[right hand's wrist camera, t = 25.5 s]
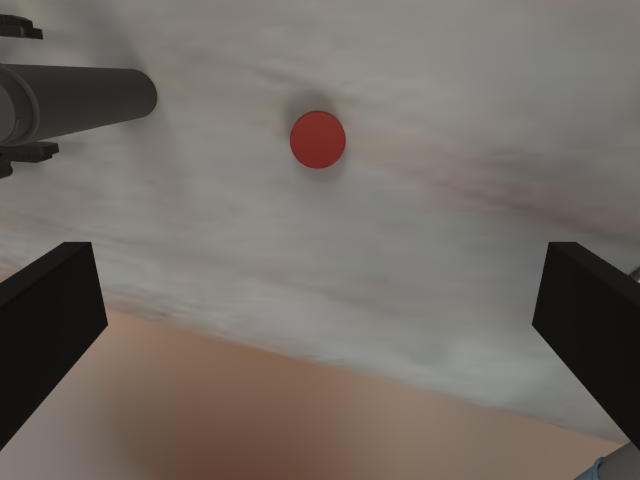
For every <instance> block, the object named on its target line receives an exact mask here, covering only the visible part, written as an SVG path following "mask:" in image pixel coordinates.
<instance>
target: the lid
mask: <svg viewBox="0 0 640 480" xmlns="http://www.w3.org/2000/svg"><path fill="white" fill-rule="evenodd" d="M290 145H291V149H292V152H293V154H294V155H295V157H296V158H297V159H298V160H299V161H300V162H301V163H302V164H304V165H306V166H308V167H311V168H325V167H328V166H330V165H332V164H334V163H335V162H336V161H337V160H338V159H339V158H340V156H341V155H342V153H343V151H344V148H345V133H344V130H343V128H342V125H341V124H340V122H339V121H338V120H337V119H336V118H335V117H334V116H333V115H331V114H329V113H327V112H324V111H312V112H309V113H306V114H304V115H303V116H302V117H300V118H299V119H298V121H297V122H296V123H295V125H294V127H293V129H292V132H291V136H290Z"/></svg>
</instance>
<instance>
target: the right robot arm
mask: <svg viewBox="0 0 640 480" xmlns="http://www.w3.org/2000/svg"><path fill="white" fill-rule="evenodd" d="M107 326H108V322H107V317H106V312H105V307H104V302H103V298H102V293H101V288H100V283H99V278H98V273H97V269H96V264H95V259H94V254H93V249H92V244H91V242H63V243H62V244H60V245H59V246H57V247H56V248H54V249H53V250H51V251H49V252H48V253H46V254H45V255H43V256H42V257H40V258H39V259H37V260H36V261H34V262H32V263H31V264H29V265H28V266H26V267H25V268H23V269H22V270H20V271H19V272H17V273H15V274H14V275H12V276H11V277H9V278H8V279H6V280H5V281H3V282H2V283H0V451H1V450H2V449H3V447H4V446H5V445H6V444H7V443H8V442H9V440H10V439H11V438H12V437H13V436H14V435H15V433H16V432H17V431H18V430H19V429H20V428H21V426H22V425H23V424H24V423H25V422H26V420H27V419H28V418H29V417H30V416H31V415H32V414H33V412H34V411H35V410H36V409H37V408H38V406H39V405H40V404H41V403H42V402H43V401H44V399H45V398H46V397H47V396H48V395H49V394H50V392H51V391H52V390H53V389H54V388H55V387H56V385H57V384H58V383H59V382H60V381H61V380H62V378H63V377H64V376H65V375H66V374H67V373H68V371H69V370H70V369H71V368H72V367H73V365H74V364H75V363H76V362H77V361H78V360H79V358H80V357H81V356H82V355H83V354H84V353H85V351H86V350H87V349H88V348H89V347H90V346H91V344H92V343H93V342H94V341H95V340H96V339H97V337H98V336H99V335H100V334H101V333H102V332H103V330H104V329H105V328H106V327H107ZM532 326H533V327H534V328H535V329H536V330H537V332H538V333H539V334H540V335H541V336H542V337H543V339H544V340H545V341H546V342H547V343H548V344H549V346H550V347H551V348H552V349H553V350H554V351H555V353H556V354H557V355H558V356H559V357H560V358H561V360H562V361H563V362H564V363H565V364H566V365H567V367H568V368H569V369H570V370H571V371H572V373H573V374H574V375H575V376H576V377H577V378H578V380H579V381H580V382H581V383H582V384H583V385H584V387H585V388H586V389H587V390H588V391H589V392H590V394H591V395H592V396H593V397H594V398H595V399H596V401H597V402H598V403H599V404H600V405H601V406H602V408H603V409H604V410H605V411H606V412H607V414H608V415H609V416H610V417H611V418H612V419H613V421H614V422H615V423H616V424H617V425H618V426H619V428H620V429H621V430H622V431H623V432H624V433H625V435H626V436H627V437H628V438H629V439H630V440H631V442H629V443H627V444H626V445H624V446H622V447H621V448H619V449H617V450H616V451H614V452H613V453H611V454H609V455H608V456H606V457H600V458H599V459H597V460H596V462H595V463H594V465H593V466H592V467H591V468H589V469H588V470H586V471H585V472H584V473H582V474H581V475H579V476H578V477H577V478H575V479H574V480H640V268H639V269H637V270H636V271H634V272H633V273H632V274H631V275H630V276H628V275H626V274H625V273H623V272H621V271H620V270H618V269H617V268H615V267H614V266H612V265H611V264H609V263H608V262H606V261H604V260H603V259H601V258H600V257H598V256H597V255H595V254H594V253H592V252H591V251H589V250H587V249H586V248H584V247H583V246H581V245H580V244H578V243H577V242H549V244H548V249H547V254H546V259H545V264H544V268H543V273H542V278H541V283H540V288H539V293H538V298H537V302H536V307H535V312H534V317H533V322H532Z"/></svg>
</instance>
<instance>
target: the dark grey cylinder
mask: <svg viewBox="0 0 640 480" xmlns="http://www.w3.org/2000/svg"><path fill="white" fill-rule="evenodd" d="M156 102H157V93H156V89H155V86H154V84H153V82H152V81H151V80H150V78H149V77H148V76H146V75H145V74H144V73H142V72H140V71H138V70H134V69H115V68H90V67H66V66H41V65H16V64H0V145H3V146H17V145H22V144H26V143H30V142H35V141H39V140H44V139H48V138H52V137H57V136H61V135H66V134H70V133H74V132H79V131H83V130H88V129H92V128H97V127H101V126H105V125H110V124H114V123H119V122H123V121H127V120H132V119H136V118H141V117H144V116H146V115H148V114H150V113H151V112H152V110H153V109H154V107H155V105H156Z"/></svg>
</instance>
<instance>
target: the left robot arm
mask: <svg viewBox="0 0 640 480" xmlns="http://www.w3.org/2000/svg"><path fill="white" fill-rule="evenodd" d="M0 36H4V37H17V38H30V39H43V35H42V29H36V28H33V23H32V21H30V20H28V19H26V18H23V17H18V16H13V15H2V14H0ZM58 152H59V148H58V143H50V142H36V141H35V142H30V143H26V144H22V145H17V146H3V145H0V179H1V178H4V177H7V176H10V175H11V174H12V173H13V169H12V167H11V166H10V164H11V161H17V162H31V163H38V162H41V161H44V160H47V159H50V158H52V154H54V153H58Z"/></svg>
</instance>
